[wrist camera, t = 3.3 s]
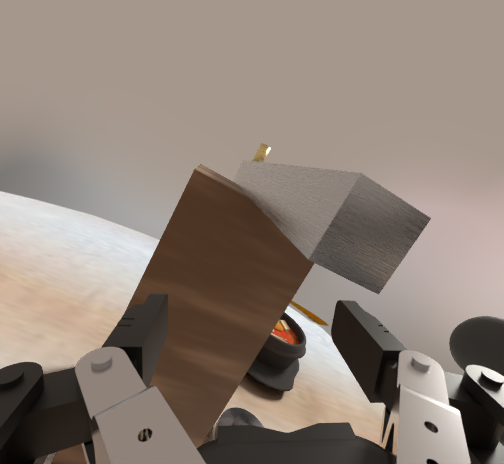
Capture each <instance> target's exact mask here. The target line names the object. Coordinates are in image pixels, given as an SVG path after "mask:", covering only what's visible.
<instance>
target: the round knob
mask: <svg viewBox="0 0 504 464" xmlns="http://www.w3.org/2000/svg"><path fill="white" fill-rule="evenodd" d="M233 425H254V426H258V427H262V428H264V427H263V425H262V424H261V423H260V421H259V420H258V419H257V418H256V417H255V416H254V415H253V414H251V413H250V412H248V411H246V410H244V409H241V408H230V409H228V410H226V411H225V412H224V413H223V414H222V415H221V417H220V418H219V420H218V422H217V423H216V425H215V426H214V428H213V430H212V431H211V433H210V436H209V440H208V442H209V441H212V440H215V439H217V434H218V426H233Z"/></svg>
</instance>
